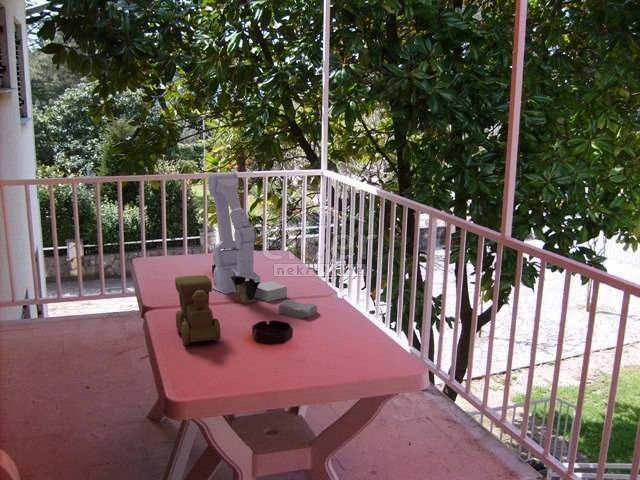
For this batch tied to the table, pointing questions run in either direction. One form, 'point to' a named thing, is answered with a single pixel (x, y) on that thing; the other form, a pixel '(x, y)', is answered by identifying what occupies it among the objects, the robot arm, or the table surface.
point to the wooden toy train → (195, 310)
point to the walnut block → (243, 294)
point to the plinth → (271, 291)
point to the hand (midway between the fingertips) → (245, 297)
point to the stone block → (297, 309)
